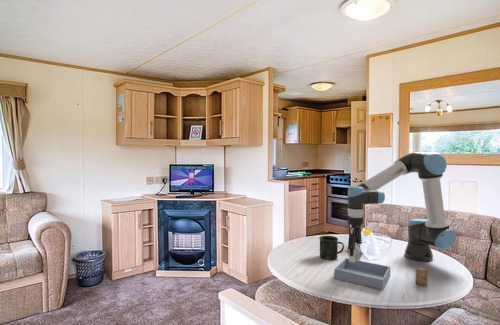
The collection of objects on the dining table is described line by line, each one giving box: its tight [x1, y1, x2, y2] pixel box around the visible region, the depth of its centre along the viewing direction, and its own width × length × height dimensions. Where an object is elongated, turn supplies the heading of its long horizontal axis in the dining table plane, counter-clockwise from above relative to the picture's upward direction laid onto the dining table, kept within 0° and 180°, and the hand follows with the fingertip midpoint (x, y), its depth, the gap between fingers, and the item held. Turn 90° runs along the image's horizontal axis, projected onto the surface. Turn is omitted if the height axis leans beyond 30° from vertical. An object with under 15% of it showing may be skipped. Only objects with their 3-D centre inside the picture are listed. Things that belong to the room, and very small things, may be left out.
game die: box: [345, 245, 364, 262], centre depth 161 cm, size 9×8×10 cm
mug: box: [318, 235, 345, 261], centre depth 187 cm, size 11×15×12 cm
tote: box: [333, 257, 391, 291], centre depth 159 cm, size 19×23×5 cm
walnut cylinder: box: [415, 267, 429, 287], centre depth 151 cm, size 5×5×7 cm
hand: (354, 258), depth 161 cm, fingers closed on game die, 10 cm apart
